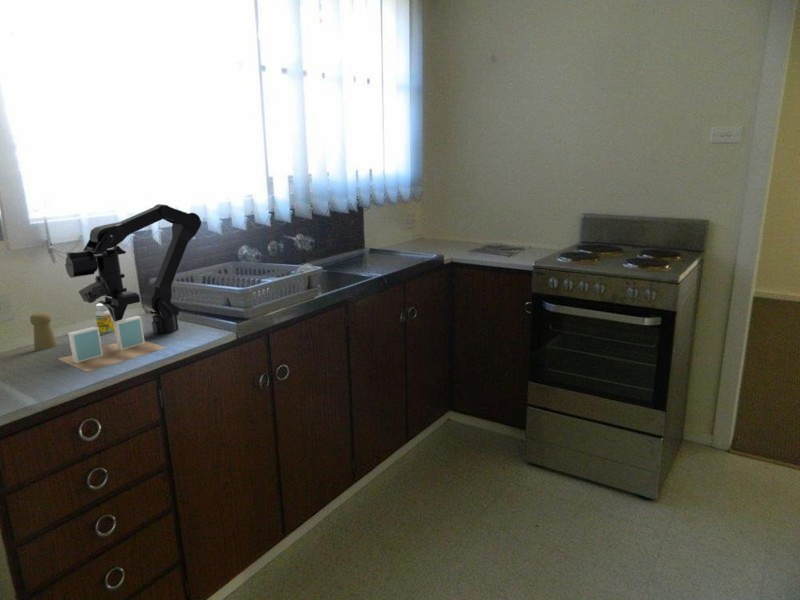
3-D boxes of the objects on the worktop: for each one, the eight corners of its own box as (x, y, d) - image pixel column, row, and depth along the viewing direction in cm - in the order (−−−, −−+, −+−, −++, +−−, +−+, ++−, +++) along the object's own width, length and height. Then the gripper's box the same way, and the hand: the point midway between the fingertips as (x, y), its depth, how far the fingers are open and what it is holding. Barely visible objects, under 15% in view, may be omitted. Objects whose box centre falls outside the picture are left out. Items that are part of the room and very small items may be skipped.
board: (135, 340, 175) (135, 337, 175) (167, 350, 165) (166, 347, 165) (58, 362, 159) (57, 358, 159) (87, 375, 149) (86, 371, 148)
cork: (62, 345, 173) (56, 309, 170) (51, 352, 167) (44, 315, 165) (41, 346, 173) (34, 310, 170) (30, 353, 167) (22, 316, 164)
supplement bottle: (121, 330, 186) (116, 301, 184) (111, 336, 181) (107, 306, 179) (104, 331, 187) (99, 301, 184) (95, 336, 181) (90, 306, 179)
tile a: (141, 342, 170) (137, 315, 168) (145, 343, 169) (141, 317, 167) (117, 349, 165) (113, 321, 163) (121, 350, 164) (117, 322, 162)
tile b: (99, 354, 161) (95, 326, 159) (103, 355, 160) (98, 327, 158) (73, 361, 156) (68, 332, 154) (76, 363, 155) (71, 334, 153)
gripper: (65, 273, 165) (74, 326, 169) (96, 280, 154) (105, 337, 158) (104, 266, 174) (112, 317, 177) (137, 272, 162) (145, 326, 166)
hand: (118, 324), depth 169 cm, fingers closed
